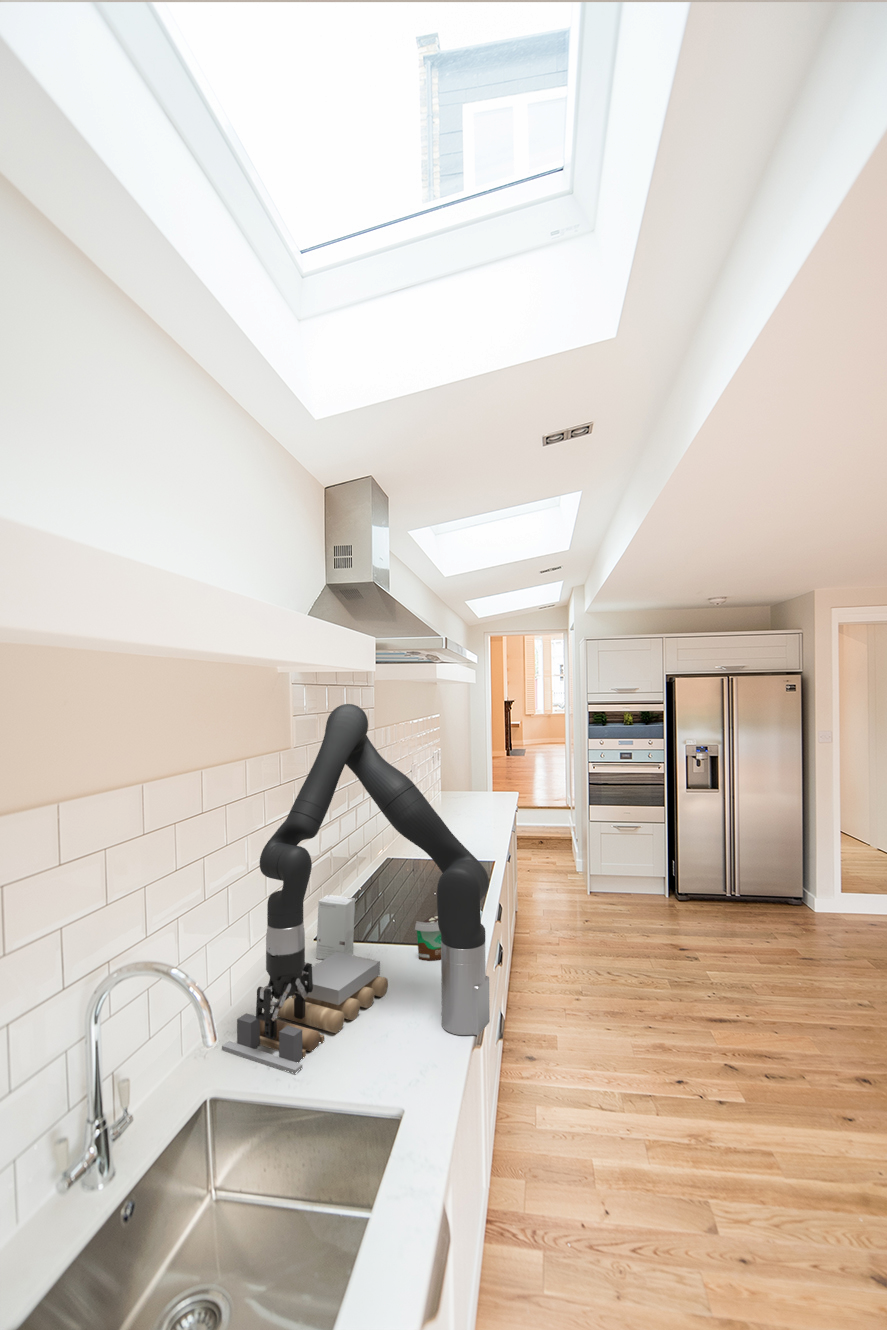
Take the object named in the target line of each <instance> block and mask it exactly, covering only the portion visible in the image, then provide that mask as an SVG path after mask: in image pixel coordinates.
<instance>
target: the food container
mask: <svg viewBox="0 0 887 1330" xmlns="http://www.w3.org/2000/svg"><path fill="white" fill-rule="evenodd" d="M415 922H416V923H415V925H414V926H415V927H414V930H415V931H416V937H417V938H416V939H417V951H418V960H420V961H427V962H436V961H441V932H440V930H439V926H438V914H437V915H433V916H429V917H428V918H427V919H425V920H424V921H417V920H416V921H415Z"/></svg>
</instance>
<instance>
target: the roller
mask: <svg viewBox="0 0 887 1330" xmlns="http://www.w3.org/2000/svg"><path fill="white" fill-rule="evenodd" d="M276 1019H277V1018H276ZM286 1026H291V1027H295V1028H298V1029H302V1049H304V1050H306V1052H307V1051H308V1052H311V1051H312V1050H313V1051H315V1050H316V1049H317V1048H318V1047H317V1046H319V1045H320V1043H319V1042H320V1032H319V1031H318V1030H315V1029H312V1028H308V1027H305V1026H302V1025H297V1024H294V1023H292V1022H289V1021H284V1020H281V1019H277V1037H276V1038H275V1039H274V1040H275V1041H278V1042H279V1031H281V1030H282V1029H284V1028H285V1027H286ZM260 1036H262V1037H265V1038H266V1036H265V1021H262V1020H260ZM316 1047H317V1048H316ZM315 1048H316V1049H315ZM314 1049H315V1050H314ZM313 1051H312V1052H313ZM312 1052H311V1053H312Z"/></svg>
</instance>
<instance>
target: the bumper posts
mask: <svg viewBox="0 0 887 1330" xmlns="http://www.w3.org/2000/svg"><path fill="white" fill-rule="evenodd" d="M259 1046H261V1045H260V1020H258V1019H256V1015H254V1014H250V1013H247V1012H246V1013H245V1014H243V1015H241V1016H240V1017H238V1018H237V1019H236V1042H234V1041H230V1040H228V1041H226V1042H225V1043H224V1044H223V1045H221V1051H224V1052H226V1053H230V1054H232V1055H235V1056H239V1057H242V1058H245V1059H248V1060H251V1061H253V1062H256V1063H258V1064H259V1063H260V1064H261V1065H265V1066H268V1065H269V1067H271V1066H272V1067H271V1068H274V1067H276V1068H275V1069H277V1068H279V1069H278V1070H280V1069H282V1070H281V1071H283V1070H286V1071H289V1072H293V1073H296V1072H297V1071H298V1070H299V1069H301V1068H302V1069H303V1064H302V1063H299V1062H301V1061H302V1060H303V1058H302V1029H298V1028H295V1027H291V1026H286V1027H285V1028H284V1029H282V1030H281V1031H279V1051H278V1055H275V1054H271V1053H268V1052H265V1051H262V1050H259V1049H257V1048H258V1047H259ZM301 1059H302V1060H301ZM300 1060H301V1061H300ZM297 1062H298V1063H297ZM286 1071H285V1072H286ZM289 1072H288V1073H289Z"/></svg>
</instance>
